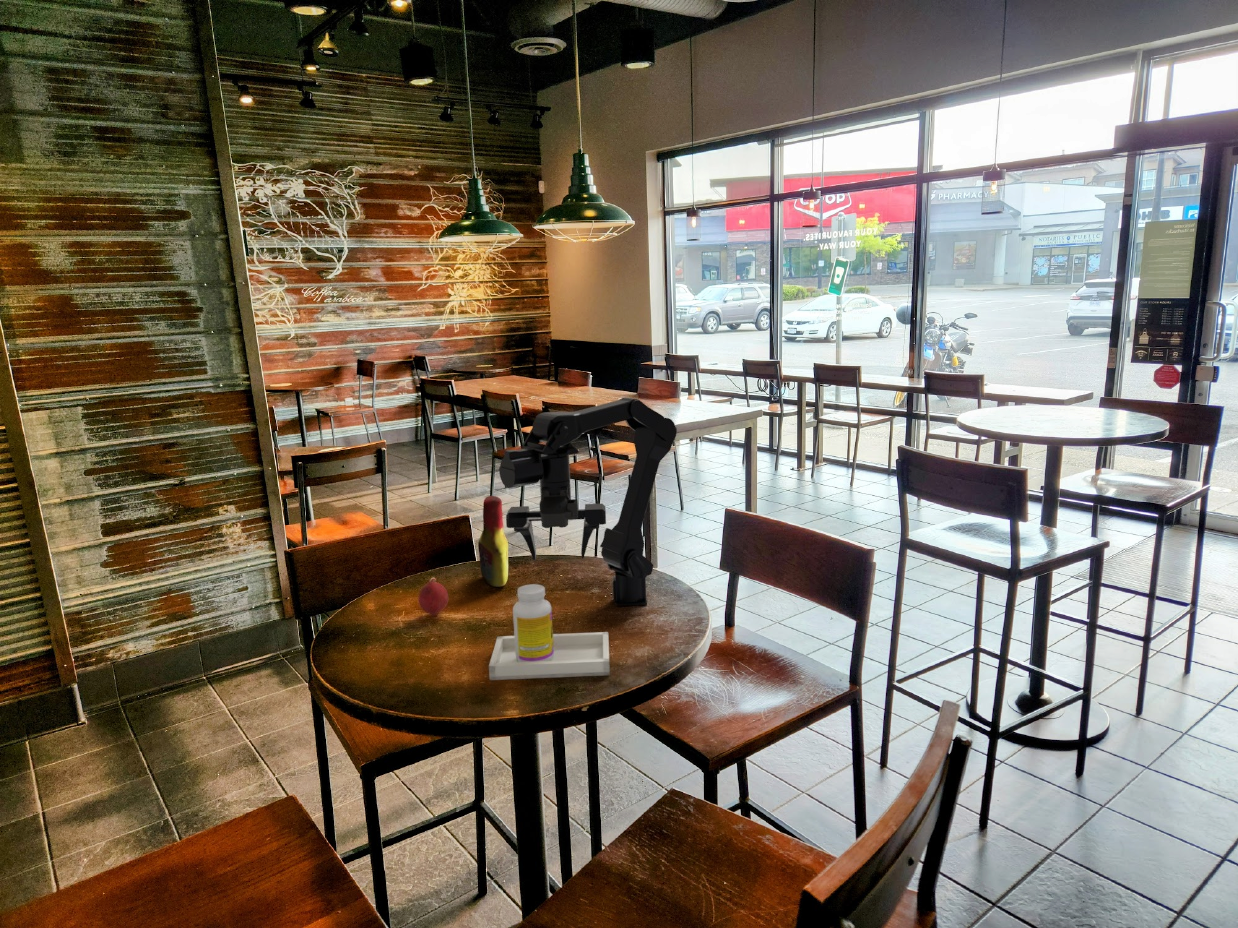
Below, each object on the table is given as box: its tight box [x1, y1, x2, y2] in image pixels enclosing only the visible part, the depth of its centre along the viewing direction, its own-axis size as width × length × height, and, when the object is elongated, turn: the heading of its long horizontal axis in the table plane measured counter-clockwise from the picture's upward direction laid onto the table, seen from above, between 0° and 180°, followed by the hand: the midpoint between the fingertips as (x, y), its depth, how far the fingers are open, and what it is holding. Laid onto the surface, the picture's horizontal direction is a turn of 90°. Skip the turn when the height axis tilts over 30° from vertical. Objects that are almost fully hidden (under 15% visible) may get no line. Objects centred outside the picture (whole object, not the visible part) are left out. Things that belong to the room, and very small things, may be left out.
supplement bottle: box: [512, 583, 554, 662], centre depth 135 cm, size 7×7×13 cm
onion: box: [418, 577, 449, 617], centre depth 158 cm, size 6×6×8 cm
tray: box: [488, 631, 611, 681], centre depth 137 cm, size 20×12×2 cm, turn 92°
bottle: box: [477, 495, 509, 588], centre depth 176 cm, size 12×6×20 cm, turn 17°
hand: (558, 558), depth 151 cm, fingers open, 9 cm apart
